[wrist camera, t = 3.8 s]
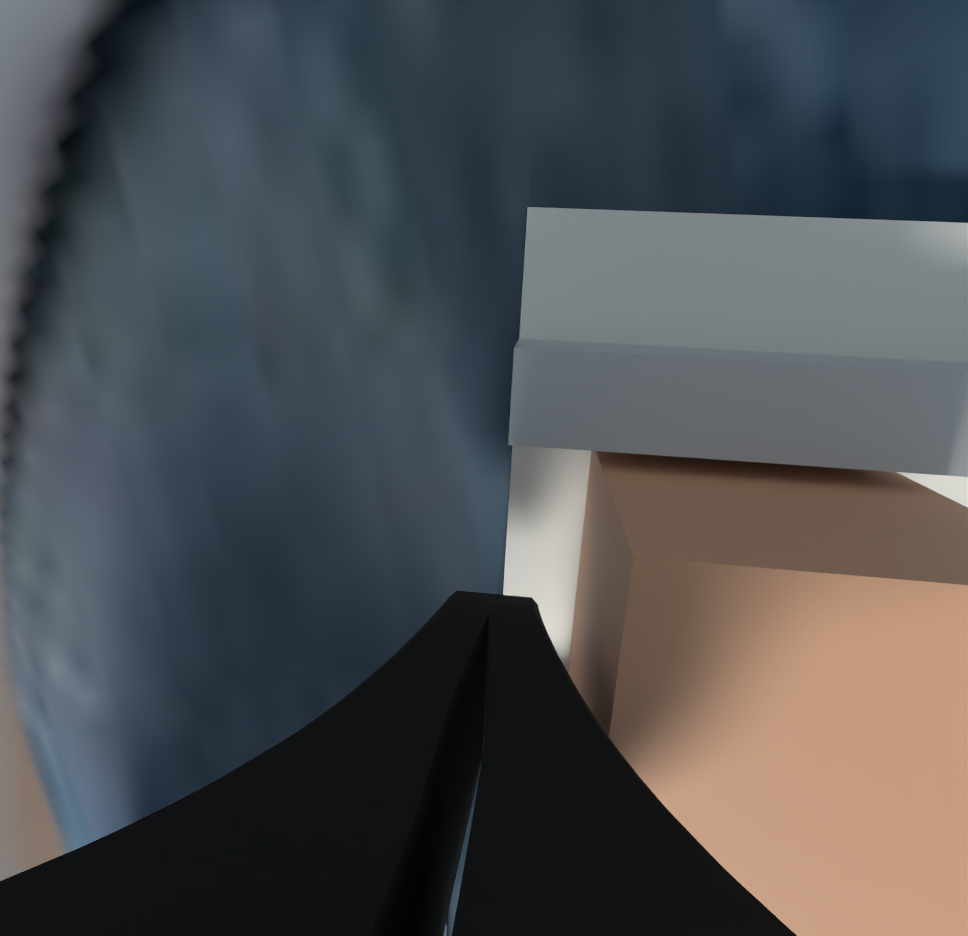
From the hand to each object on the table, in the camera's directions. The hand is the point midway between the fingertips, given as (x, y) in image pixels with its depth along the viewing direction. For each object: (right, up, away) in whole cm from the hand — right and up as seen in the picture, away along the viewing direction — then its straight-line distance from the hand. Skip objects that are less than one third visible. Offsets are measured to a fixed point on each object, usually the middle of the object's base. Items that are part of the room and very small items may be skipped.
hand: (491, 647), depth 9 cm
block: (+4, 0, +2) cm, 5 cm away
